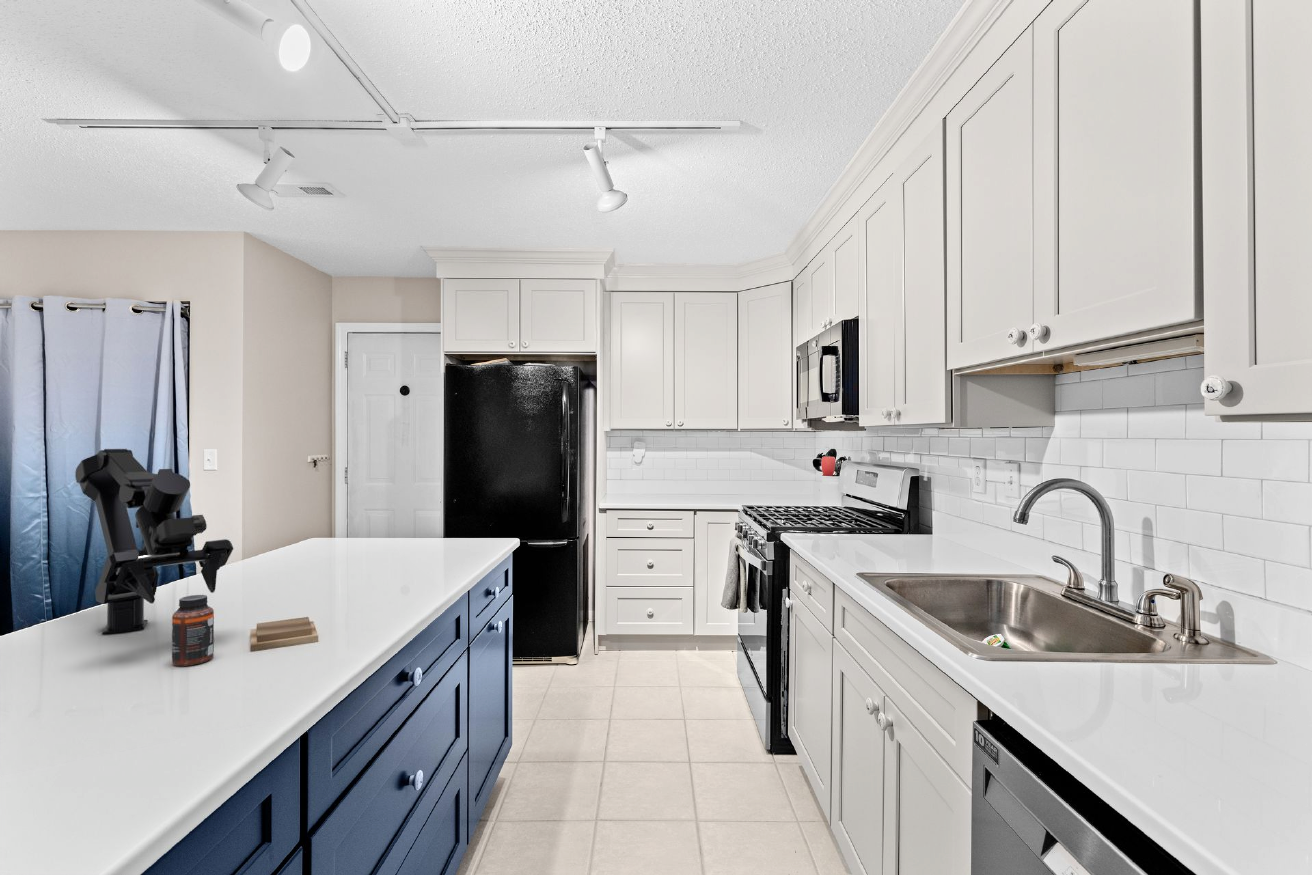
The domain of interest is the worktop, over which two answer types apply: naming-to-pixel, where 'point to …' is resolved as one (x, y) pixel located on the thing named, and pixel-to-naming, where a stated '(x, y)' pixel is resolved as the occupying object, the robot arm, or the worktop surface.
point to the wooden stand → (283, 633)
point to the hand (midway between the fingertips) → (184, 596)
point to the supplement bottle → (192, 631)
